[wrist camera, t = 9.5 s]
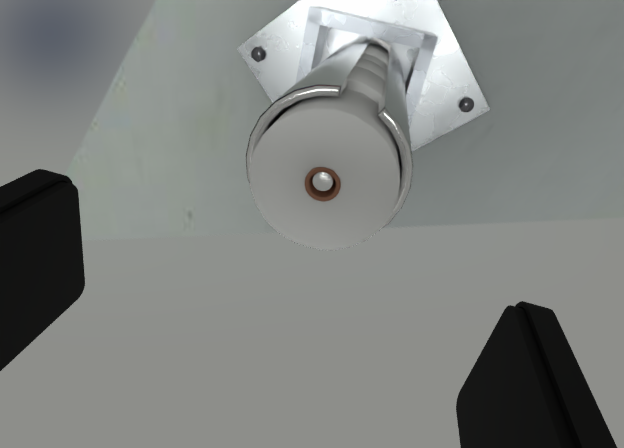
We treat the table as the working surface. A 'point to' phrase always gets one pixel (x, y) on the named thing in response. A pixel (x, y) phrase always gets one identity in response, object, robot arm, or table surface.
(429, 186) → the table surface
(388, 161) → the air filter
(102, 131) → the table surface
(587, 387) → the robot arm
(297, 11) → the metal base plate
